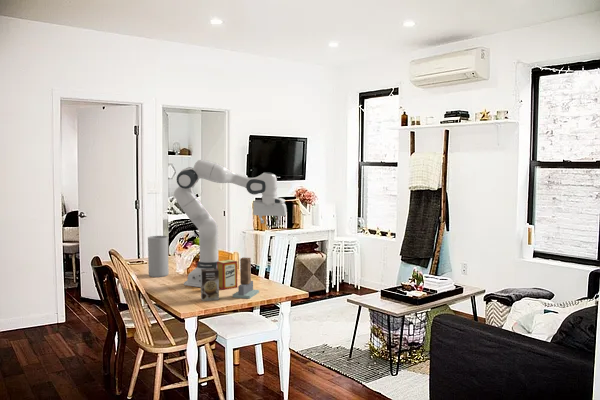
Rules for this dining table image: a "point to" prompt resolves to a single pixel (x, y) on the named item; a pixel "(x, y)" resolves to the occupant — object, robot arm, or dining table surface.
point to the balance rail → (245, 291)
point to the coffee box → (209, 284)
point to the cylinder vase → (158, 256)
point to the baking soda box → (227, 274)
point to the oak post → (245, 270)
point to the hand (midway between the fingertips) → (269, 223)
